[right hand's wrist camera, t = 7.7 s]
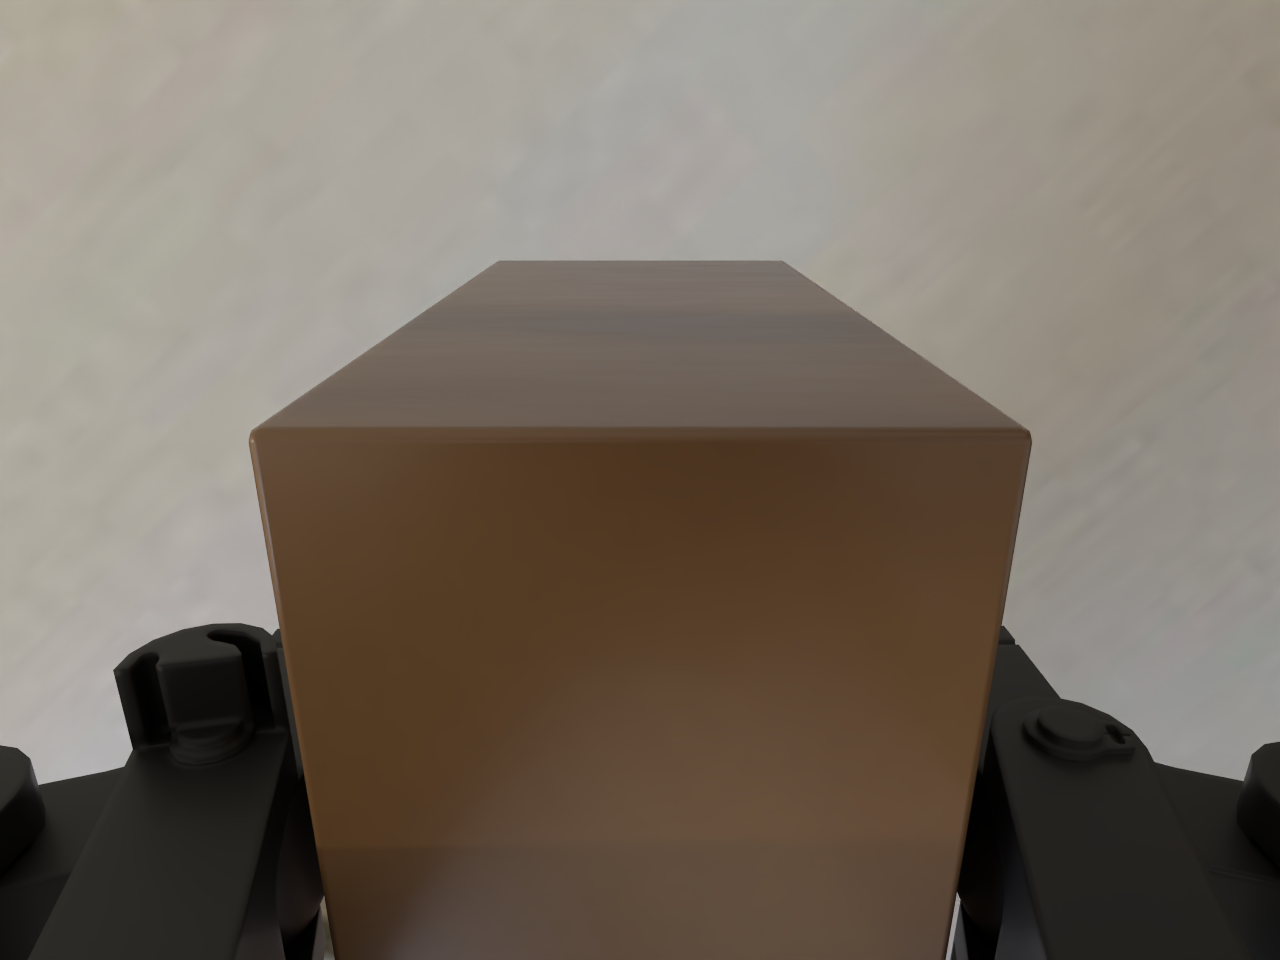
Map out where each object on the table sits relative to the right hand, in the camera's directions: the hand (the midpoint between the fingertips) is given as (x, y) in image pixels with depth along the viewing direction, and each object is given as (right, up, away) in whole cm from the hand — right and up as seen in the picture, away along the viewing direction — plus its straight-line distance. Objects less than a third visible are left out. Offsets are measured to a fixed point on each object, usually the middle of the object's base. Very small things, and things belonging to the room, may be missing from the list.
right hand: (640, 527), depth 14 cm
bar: (0, -6, +3) cm, 7 cm away
